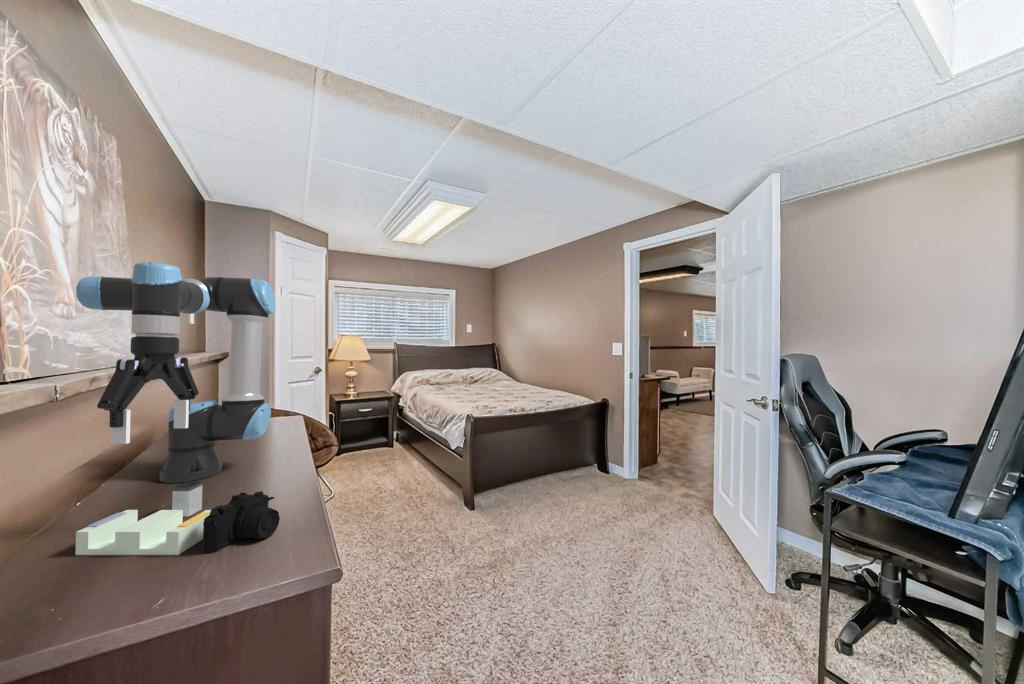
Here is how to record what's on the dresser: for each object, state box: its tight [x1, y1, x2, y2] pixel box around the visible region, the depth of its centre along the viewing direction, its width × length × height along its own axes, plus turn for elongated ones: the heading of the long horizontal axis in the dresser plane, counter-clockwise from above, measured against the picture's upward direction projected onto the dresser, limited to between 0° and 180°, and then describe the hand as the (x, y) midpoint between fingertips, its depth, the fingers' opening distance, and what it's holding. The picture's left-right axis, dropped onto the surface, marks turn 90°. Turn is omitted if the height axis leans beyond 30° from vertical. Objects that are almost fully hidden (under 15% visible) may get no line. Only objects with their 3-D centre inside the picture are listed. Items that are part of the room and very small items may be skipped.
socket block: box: [75, 509, 212, 556], centre depth 79 cm, size 10×20×5 cm, turn 91°
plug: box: [171, 481, 204, 517], centre depth 93 cm, size 4×4×7 cm
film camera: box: [202, 490, 281, 554], centre depth 82 cm, size 15×10×9 cm, turn 168°
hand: (153, 435), depth 79 cm, fingers open, 13 cm apart
